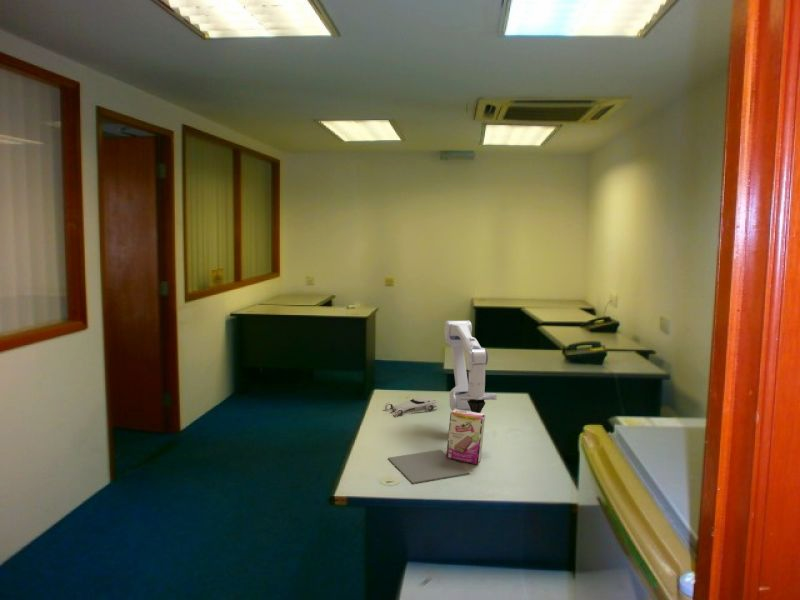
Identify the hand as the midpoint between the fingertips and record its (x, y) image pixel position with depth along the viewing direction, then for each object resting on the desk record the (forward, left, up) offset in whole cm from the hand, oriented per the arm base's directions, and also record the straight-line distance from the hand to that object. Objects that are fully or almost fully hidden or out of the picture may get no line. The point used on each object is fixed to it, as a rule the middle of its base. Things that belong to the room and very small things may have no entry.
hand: (475, 420), depth 201 cm
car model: (+3, -47, -11) cm, 48 cm away
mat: (+22, +8, -10) cm, 26 cm away
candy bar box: (+9, +8, -10) cm, 16 cm away
